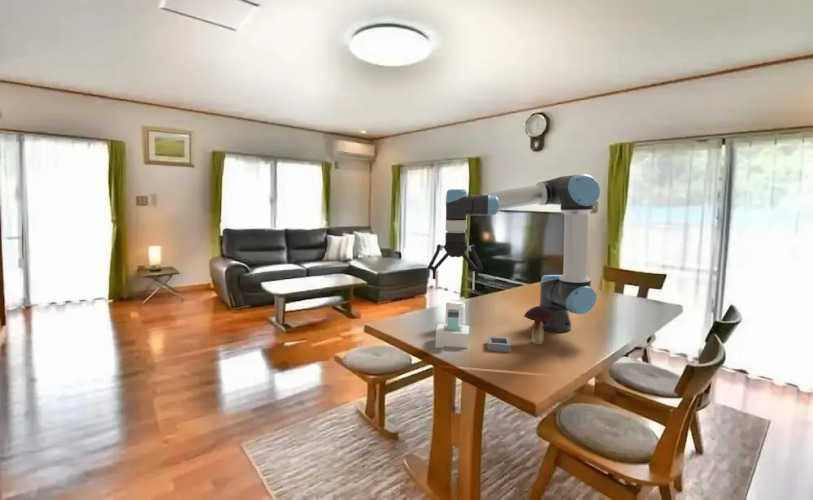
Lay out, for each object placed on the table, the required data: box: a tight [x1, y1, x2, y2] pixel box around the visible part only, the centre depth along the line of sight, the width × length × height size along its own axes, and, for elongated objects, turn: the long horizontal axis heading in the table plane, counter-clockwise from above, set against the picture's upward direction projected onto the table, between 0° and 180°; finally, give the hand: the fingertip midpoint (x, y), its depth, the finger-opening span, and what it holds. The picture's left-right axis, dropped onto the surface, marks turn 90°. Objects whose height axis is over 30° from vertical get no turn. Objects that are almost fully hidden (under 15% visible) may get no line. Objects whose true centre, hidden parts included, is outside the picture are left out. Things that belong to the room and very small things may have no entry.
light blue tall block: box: [447, 309, 459, 331], centre depth 151 cm, size 4×4×12 cm
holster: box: [486, 335, 512, 353], centre depth 147 cm, size 8×8×3 cm
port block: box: [435, 323, 470, 349], centre depth 151 cm, size 12×10×6 cm
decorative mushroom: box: [523, 305, 554, 345], centre depth 151 cm, size 11×11×15 cm
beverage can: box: [444, 299, 466, 326], centre depth 169 cm, size 8×8×12 cm
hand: (454, 288), depth 149 cm, fingers open, 13 cm apart
